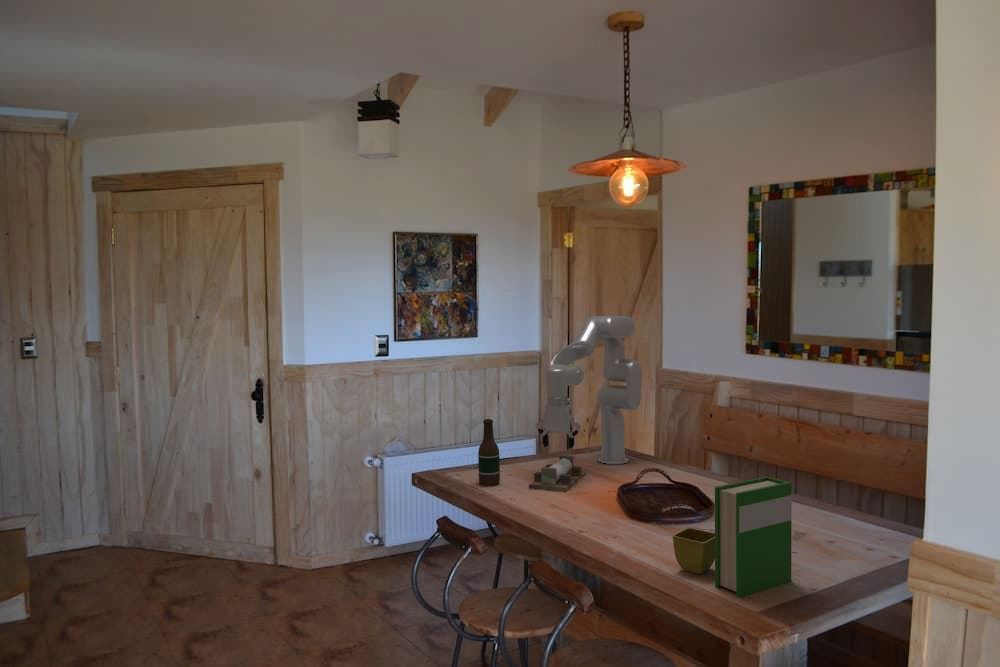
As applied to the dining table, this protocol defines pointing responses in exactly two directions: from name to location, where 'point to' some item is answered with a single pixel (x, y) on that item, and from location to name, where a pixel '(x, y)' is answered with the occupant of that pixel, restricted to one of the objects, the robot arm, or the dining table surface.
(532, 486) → the cradle
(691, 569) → the flower pot
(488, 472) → the beer bottle
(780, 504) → the hardback book
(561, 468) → the roll
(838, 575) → the dining table surface
